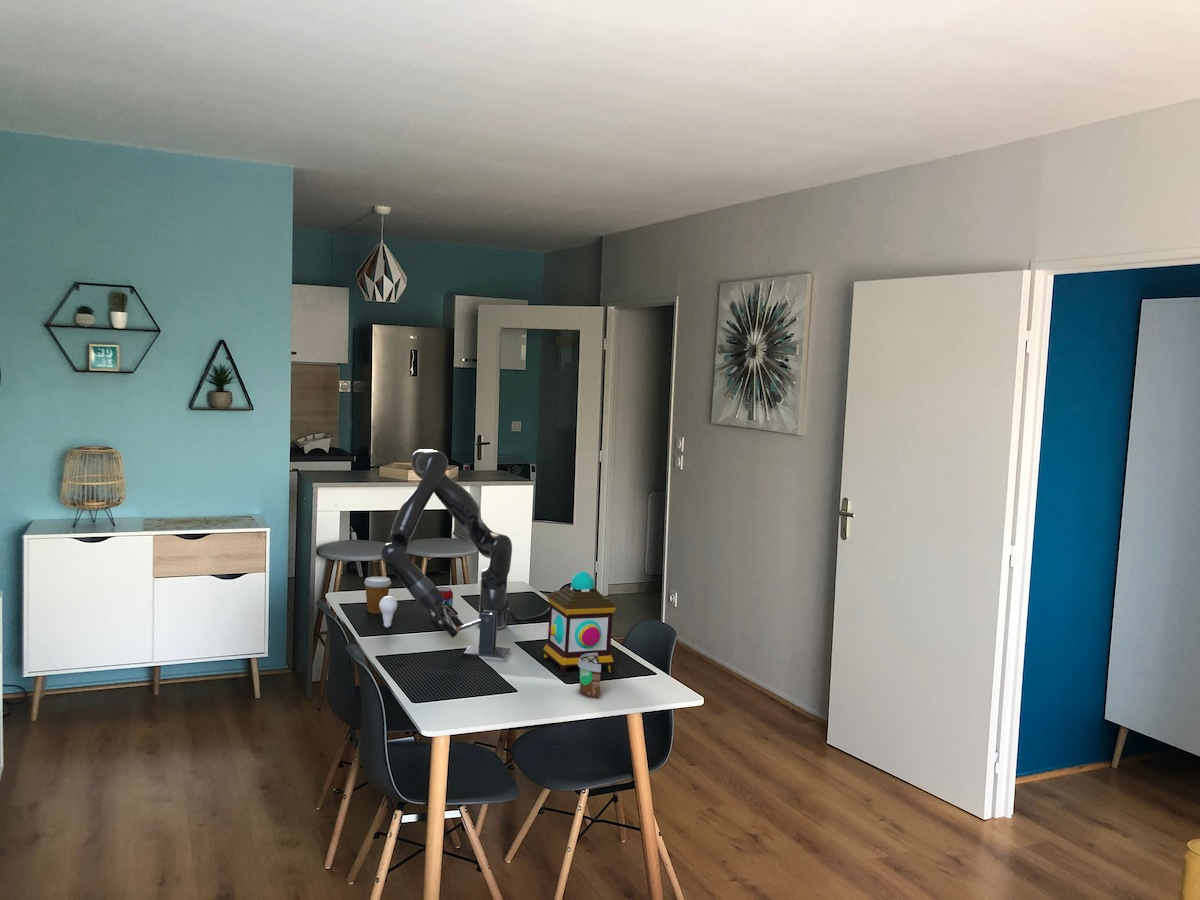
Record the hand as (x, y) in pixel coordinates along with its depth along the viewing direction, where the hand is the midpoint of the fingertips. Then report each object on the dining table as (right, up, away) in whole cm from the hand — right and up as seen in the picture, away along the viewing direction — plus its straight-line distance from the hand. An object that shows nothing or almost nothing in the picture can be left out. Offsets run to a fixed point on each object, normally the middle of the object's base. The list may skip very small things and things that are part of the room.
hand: (459, 632), depth 299 cm
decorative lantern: (+38, -10, -6) cm, 39 cm away
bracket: (+9, -7, 0) cm, 11 cm away
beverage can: (-11, -3, +36) cm, 38 cm away
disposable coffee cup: (-37, -1, +44) cm, 58 cm away
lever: (+5, +2, -1) cm, 6 cm away
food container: (+41, -12, -30) cm, 52 cm away
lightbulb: (-28, -3, +24) cm, 37 cm away
